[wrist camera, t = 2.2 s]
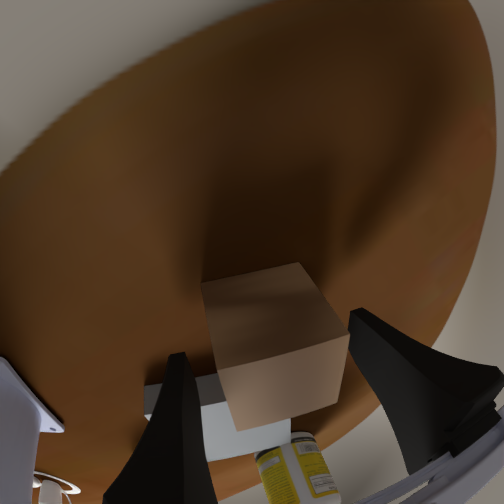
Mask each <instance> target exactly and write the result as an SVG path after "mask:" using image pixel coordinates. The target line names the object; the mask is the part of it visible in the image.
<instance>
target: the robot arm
mask: <svg viewBox="0 0 504 504" xmlns="http://www.w3.org/2000/svg"><path fill="white" fill-rule="evenodd" d="M348 331H349V333H350V339H349V345H348V349H349V351H350V353H351V355H352V357H353V359H354V361H355V363H356V365H357V366H358V368H359V369H360V371H361V372H362V374H363V375H364V377H365V378H366V380H367V382H368V383H369V385H370V386H371V388H372V389H373V391H374V392H375V394H376V395H377V397H378V399H379V401H380V402H381V404H382V406H383V408H384V410H385V412H386V415H387V417H388V419H389V421H390V423H391V425H392V428H393V430H394V432H395V435H396V438H397V441H398V443H399V446H400V449H401V452H402V455H403V458H404V461H405V465H406V468H407V472H408V474H409V475H410V476H408V477H406V478H405V479H403V480H401V481H399V482H397V483H395V484H394V485H391V486H389V487H387V488H385V489H384V490H381V491H379V492H377V493H375V494H373V495H371V496H369V497H367V498H364V499H362V500H360V501H357V502H355V503H352V504H387V503H389V502H391V501H393V500H395V499H397V498H399V497H401V496H402V495H404V494H406V493H408V492H410V491H411V490H413V489H415V488H417V487H418V486H420V485H422V484H423V483H425V482H427V481H428V480H429V482H428V485H427V486H425V487H424V488H422V489H420V490H419V491H417V492H416V493H414V494H413V495H411V496H410V497H408V498H407V499H406V500H404V501H402V502H401V503H399V504H465V503H466V502H467V501H469V500H470V499H471V498H472V497H473V496H474V495H476V494H477V493H478V492H479V491H480V490H481V489H482V488H483V487H484V486H485V485H486V484H487V483H489V481H490V480H492V479H493V478H494V476H496V475H497V474H498V472H499V471H501V469H502V468H503V467H504V405H503V406H502V407H501V408H500V409H499V410H498V411H496V410H495V409H494V408H495V407H496V403H495V402H494V401H493V400H494V399H495V398H496V396H497V395H498V394H499V392H500V391H501V390H502V388H503V387H504V374H503V373H502V372H501V371H500V370H499V368H498V367H497V366H490V365H483V364H478V363H473V362H469V361H465V360H462V359H458V358H455V357H452V356H449V355H447V354H444V353H441V352H439V351H437V350H434V349H432V348H430V347H428V346H425V345H423V344H421V343H420V342H418V341H416V340H414V339H412V338H410V337H409V336H407V335H405V334H403V333H402V332H400V331H398V330H397V329H395V328H394V327H392V326H390V325H389V324H387V323H386V322H384V321H383V320H381V319H380V318H378V317H377V316H375V315H373V314H372V313H370V312H369V311H367V310H366V309H364V308H358V309H355V310H352V311H350V318H349V325H348ZM64 429H65V427H64V425H63V424H62V423H61V422H60V421H59V420H58V419H57V418H56V417H55V416H54V415H53V414H52V413H51V412H50V411H49V410H48V409H47V408H46V407H45V406H44V405H43V404H42V403H41V402H40V400H39V399H38V398H37V397H36V396H35V395H34V394H33V392H32V391H31V390H30V389H29V388H28V387H27V385H26V384H25V383H24V382H23V381H22V379H21V378H20V377H19V376H18V374H17V373H16V372H15V371H14V369H13V368H12V367H11V365H10V364H9V363H8V361H7V360H6V359H4V358H2V357H0V504H32V488H33V477H34V467H35V459H36V452H37V445H38V439H39V433H40V432H64ZM102 504H218V502H217V498H216V495H215V491H214V488H213V484H212V480H211V476H210V472H209V468H208V463H207V459H206V454H205V447H204V438H203V427H202V416H201V404H200V398H199V393H198V388H197V383H196V380H195V377H194V375H193V372H192V370H191V367H190V364H189V362H188V359H187V357H186V354H185V352H181V353H176V354H170V356H169V357H168V362H167V367H166V371H165V375H164V379H163V382H162V386H161V389H160V392H159V395H158V398H157V401H156V404H155V407H154V409H153V412H152V415H151V417H150V420H149V422H148V425H147V427H146V429H145V431H144V433H143V435H142V437H141V439H140V441H139V443H138V445H137V447H136V449H135V451H134V452H133V454H132V456H131V457H130V459H129V461H128V462H127V464H126V465H125V467H124V468H123V470H122V471H121V473H120V474H119V475H118V477H117V478H116V479H115V481H114V482H113V483H112V484H111V486H110V487H109V488H108V489H107V491H106V492H105V493H104V494H103V502H102Z"/></svg>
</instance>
